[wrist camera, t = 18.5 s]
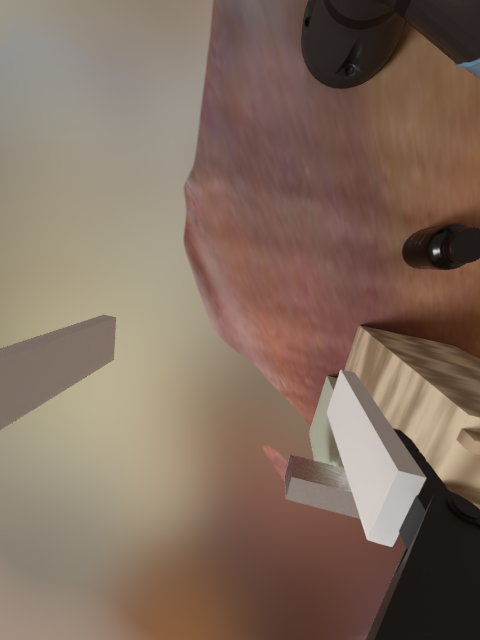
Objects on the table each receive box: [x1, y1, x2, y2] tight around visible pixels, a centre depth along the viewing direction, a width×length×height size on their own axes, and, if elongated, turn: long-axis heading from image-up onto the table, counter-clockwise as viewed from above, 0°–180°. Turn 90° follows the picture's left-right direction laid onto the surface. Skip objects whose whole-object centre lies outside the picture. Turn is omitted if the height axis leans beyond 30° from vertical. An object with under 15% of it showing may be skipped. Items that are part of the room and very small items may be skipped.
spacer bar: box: [285, 455, 360, 519], centre depth 35 cm, size 30×4×4 cm, turn 80°
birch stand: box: [345, 325, 480, 509], centre depth 36 cm, size 18×10×32 cm, turn 79°
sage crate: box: [309, 376, 339, 466], centre depth 48 cm, size 15×15×15 cm
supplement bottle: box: [402, 224, 480, 270], centre depth 40 cm, size 7×7×12 cm
